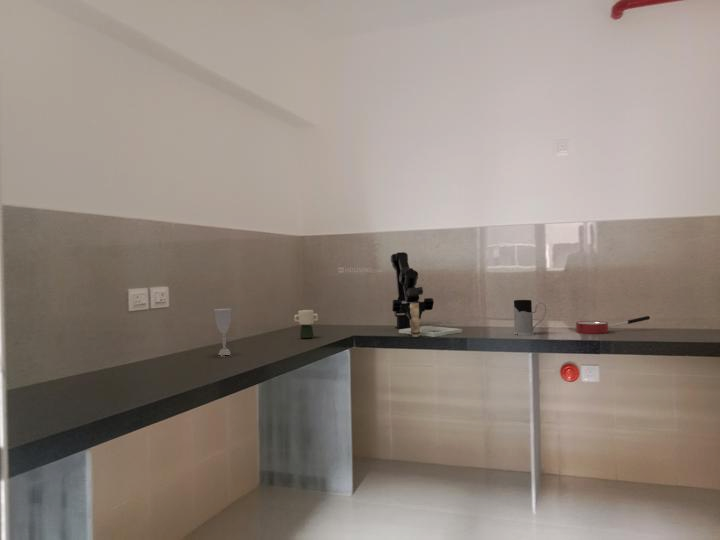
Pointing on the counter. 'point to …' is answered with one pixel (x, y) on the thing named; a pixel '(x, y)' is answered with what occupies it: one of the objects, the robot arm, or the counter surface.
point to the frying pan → (601, 325)
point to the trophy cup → (306, 322)
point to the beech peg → (415, 319)
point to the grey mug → (524, 317)
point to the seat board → (433, 331)
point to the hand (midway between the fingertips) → (415, 318)
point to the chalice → (223, 326)
